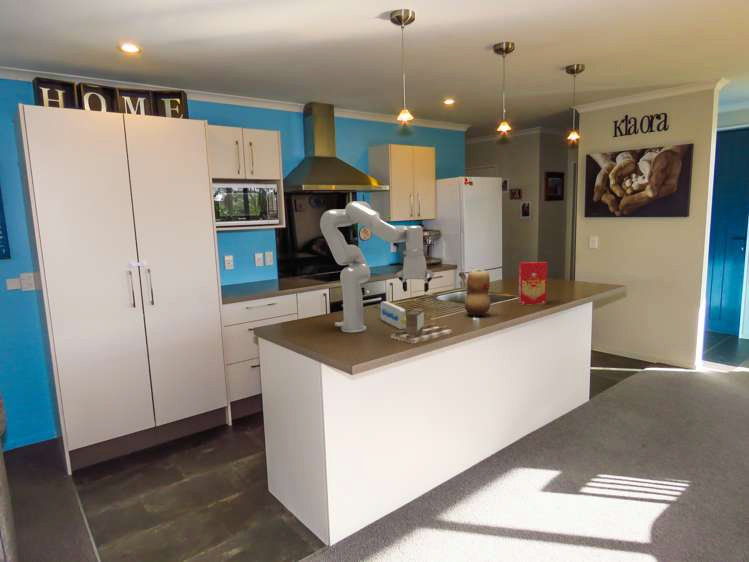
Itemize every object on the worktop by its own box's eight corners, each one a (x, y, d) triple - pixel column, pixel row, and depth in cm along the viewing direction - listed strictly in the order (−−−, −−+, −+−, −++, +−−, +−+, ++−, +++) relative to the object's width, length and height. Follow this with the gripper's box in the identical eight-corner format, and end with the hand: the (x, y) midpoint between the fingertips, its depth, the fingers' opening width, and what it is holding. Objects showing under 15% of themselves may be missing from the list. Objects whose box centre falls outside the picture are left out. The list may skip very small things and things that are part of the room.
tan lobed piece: (478, 319, 249) (478, 272, 246) (459, 315, 260) (459, 269, 257) (495, 315, 257) (496, 269, 254) (476, 311, 268) (477, 267, 265)
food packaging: (520, 305, 282) (521, 263, 279) (518, 303, 288) (519, 262, 284) (546, 304, 282) (547, 262, 278) (543, 303, 287) (544, 261, 283)
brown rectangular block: (416, 334, 210) (416, 314, 209) (405, 334, 212) (405, 314, 211) (425, 327, 223) (424, 308, 222) (414, 326, 225) (414, 308, 224)
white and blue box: (379, 319, 257) (378, 301, 255) (385, 318, 258) (385, 300, 257) (403, 333, 227) (402, 312, 225) (410, 332, 228) (410, 311, 227)
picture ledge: (412, 343, 207) (411, 337, 207) (390, 337, 218) (390, 331, 218) (452, 333, 223) (452, 326, 223) (431, 328, 234) (431, 322, 234)
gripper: (393, 254, 212) (394, 292, 215) (431, 254, 206) (432, 293, 208) (398, 252, 219) (400, 289, 222) (435, 252, 213) (436, 290, 215)
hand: (415, 291), depth 215 cm, fingers open, 9 cm apart
